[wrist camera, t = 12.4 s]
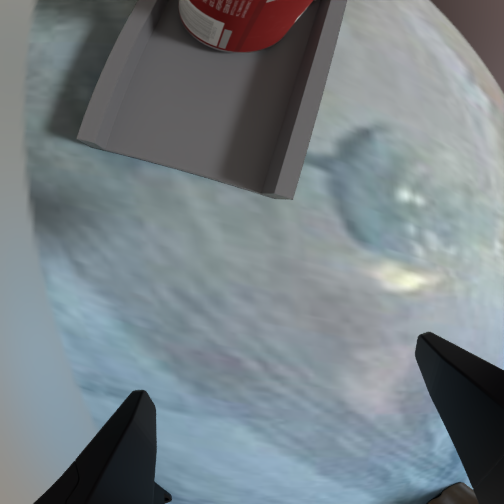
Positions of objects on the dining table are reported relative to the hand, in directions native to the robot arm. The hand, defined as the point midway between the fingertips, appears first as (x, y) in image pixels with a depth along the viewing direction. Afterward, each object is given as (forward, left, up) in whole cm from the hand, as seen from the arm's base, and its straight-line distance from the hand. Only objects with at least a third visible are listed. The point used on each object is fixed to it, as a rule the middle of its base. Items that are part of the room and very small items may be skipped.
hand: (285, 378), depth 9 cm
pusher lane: (+8, +14, -10) cm, 19 cm away
